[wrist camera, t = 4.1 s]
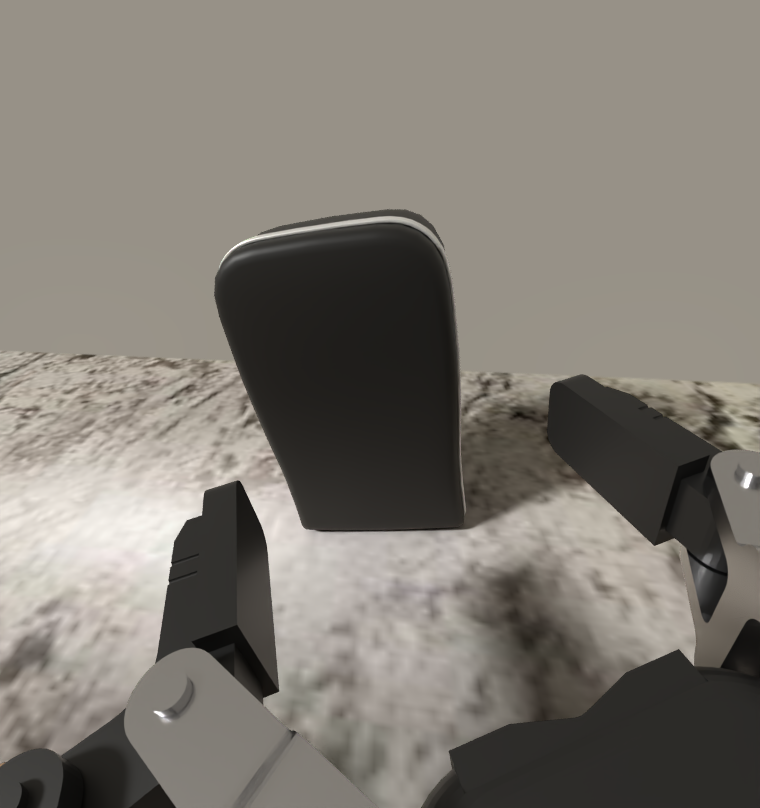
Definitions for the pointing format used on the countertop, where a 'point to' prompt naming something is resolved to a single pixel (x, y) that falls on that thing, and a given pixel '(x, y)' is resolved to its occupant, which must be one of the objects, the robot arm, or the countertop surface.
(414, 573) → the countertop surface
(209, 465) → the countertop surface
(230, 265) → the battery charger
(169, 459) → the countertop surface
